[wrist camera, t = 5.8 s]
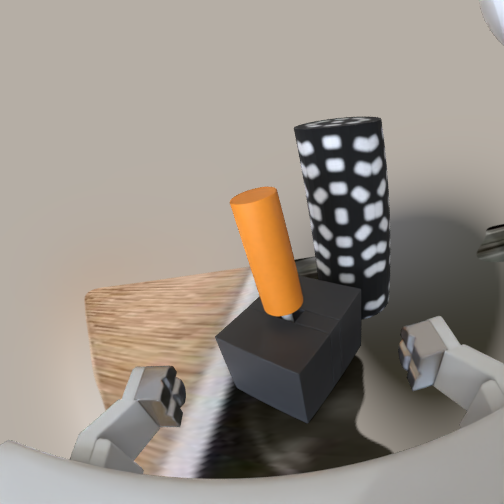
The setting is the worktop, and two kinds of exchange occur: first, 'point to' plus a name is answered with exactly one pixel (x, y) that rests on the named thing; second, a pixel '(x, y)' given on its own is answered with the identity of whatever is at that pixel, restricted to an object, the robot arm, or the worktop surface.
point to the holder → (295, 348)
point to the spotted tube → (349, 204)
